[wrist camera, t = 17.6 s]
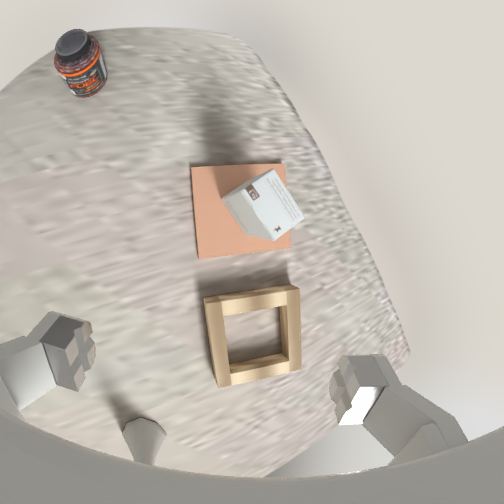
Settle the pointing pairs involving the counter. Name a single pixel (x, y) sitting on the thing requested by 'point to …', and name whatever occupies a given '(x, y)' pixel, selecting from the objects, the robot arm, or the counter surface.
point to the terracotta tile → (227, 211)
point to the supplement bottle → (80, 63)
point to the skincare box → (263, 206)
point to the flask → (144, 439)
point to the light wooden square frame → (246, 302)
